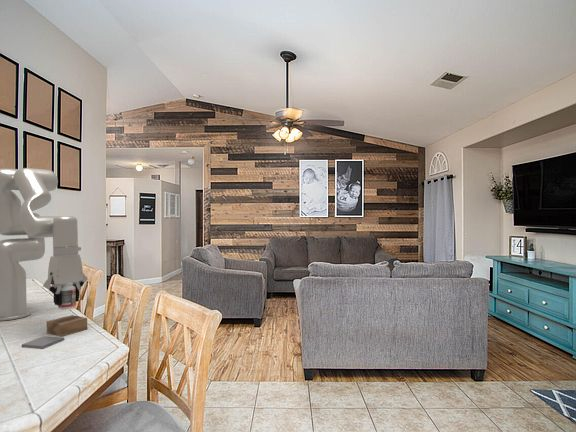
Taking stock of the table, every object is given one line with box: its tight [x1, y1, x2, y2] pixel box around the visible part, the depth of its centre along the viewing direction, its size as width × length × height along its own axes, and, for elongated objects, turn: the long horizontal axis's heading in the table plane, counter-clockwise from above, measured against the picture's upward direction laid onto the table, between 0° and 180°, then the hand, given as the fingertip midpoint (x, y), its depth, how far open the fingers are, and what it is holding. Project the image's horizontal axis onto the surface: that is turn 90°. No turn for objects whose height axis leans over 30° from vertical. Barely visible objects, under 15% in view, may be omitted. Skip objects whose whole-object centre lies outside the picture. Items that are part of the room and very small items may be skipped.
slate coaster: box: [21, 335, 65, 350], centre depth 117 cm, size 8×8×1 cm
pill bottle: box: [57, 282, 77, 311], centre depth 130 cm, size 5×5×10 cm
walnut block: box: [46, 314, 88, 337], centre depth 130 cm, size 9×9×4 cm
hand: (66, 302), depth 130 cm, fingers closed on pill bottle, 5 cm apart
